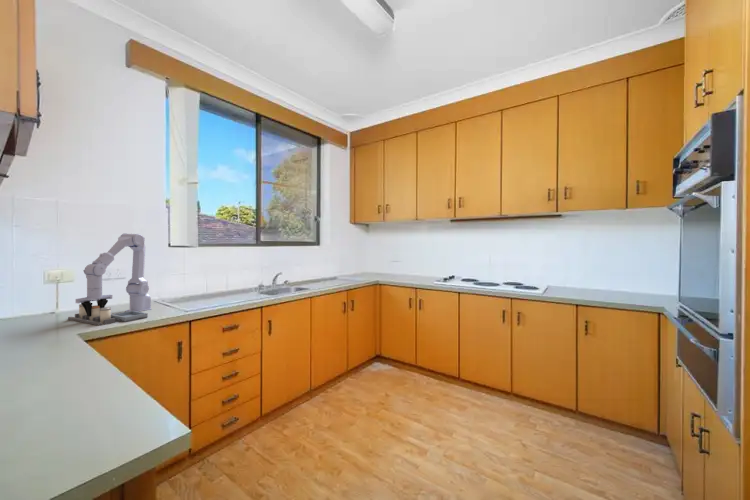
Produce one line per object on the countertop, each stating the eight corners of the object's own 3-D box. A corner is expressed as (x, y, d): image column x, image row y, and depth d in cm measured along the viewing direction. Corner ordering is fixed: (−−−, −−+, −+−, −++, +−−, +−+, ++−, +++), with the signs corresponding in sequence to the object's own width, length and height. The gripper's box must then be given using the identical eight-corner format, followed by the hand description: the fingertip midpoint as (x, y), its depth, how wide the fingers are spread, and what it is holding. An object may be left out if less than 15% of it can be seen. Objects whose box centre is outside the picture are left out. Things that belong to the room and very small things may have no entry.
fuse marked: (97, 318, 164) (97, 305, 164) (101, 319, 163) (101, 305, 162) (87, 320, 160) (87, 306, 160) (92, 321, 159) (92, 307, 159)
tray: (132, 314, 174) (132, 310, 174) (147, 317, 169) (147, 313, 169) (109, 318, 164) (109, 314, 164) (125, 321, 159) (125, 317, 159)
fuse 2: (107, 320, 161) (107, 306, 160) (112, 321, 159) (112, 307, 159) (97, 322, 157) (97, 308, 157) (102, 323, 155) (103, 309, 155)
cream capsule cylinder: (87, 316, 168) (86, 303, 167) (91, 317, 166) (91, 304, 166) (77, 318, 164) (77, 304, 164) (81, 319, 162) (81, 305, 162)
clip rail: (91, 315, 171) (91, 311, 171) (121, 321, 161) (121, 317, 161) (68, 319, 162) (68, 315, 162) (98, 325, 152) (98, 321, 152)
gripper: (106, 285, 169) (106, 311, 170) (71, 289, 156) (72, 317, 156) (114, 286, 166) (114, 313, 167) (80, 290, 153) (80, 319, 153)
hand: (94, 315), depth 161 cm, fingers closed on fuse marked, 4 cm apart
